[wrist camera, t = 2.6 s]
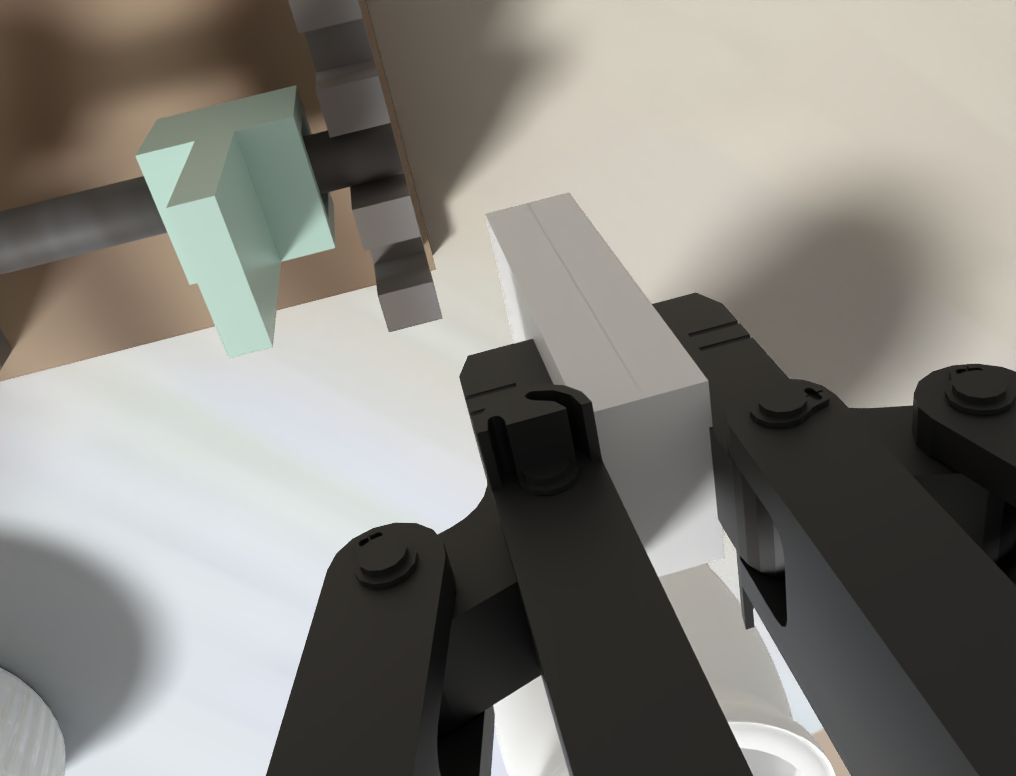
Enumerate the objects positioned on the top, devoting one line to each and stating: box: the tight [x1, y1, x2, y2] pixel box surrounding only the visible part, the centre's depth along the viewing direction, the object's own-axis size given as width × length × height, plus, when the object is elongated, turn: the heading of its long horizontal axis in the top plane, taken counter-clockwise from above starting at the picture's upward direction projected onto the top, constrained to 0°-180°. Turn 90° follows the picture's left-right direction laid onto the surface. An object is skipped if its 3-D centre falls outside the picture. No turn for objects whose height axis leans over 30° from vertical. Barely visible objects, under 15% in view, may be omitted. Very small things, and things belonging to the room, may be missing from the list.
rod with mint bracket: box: [0, 0, 442, 381], centre depth 27 cm, size 20×12×8 cm, turn 102°
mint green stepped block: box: [135, 85, 335, 359], centre depth 23 cm, size 4×4×9 cm
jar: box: [493, 563, 835, 776], centre depth 36 cm, size 11×10×15 cm
